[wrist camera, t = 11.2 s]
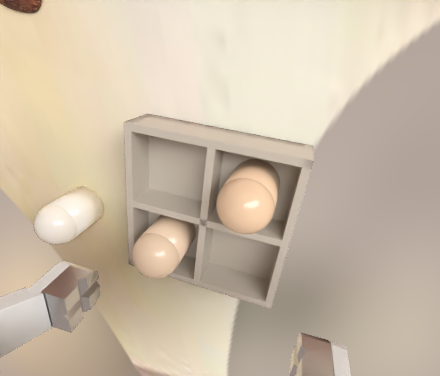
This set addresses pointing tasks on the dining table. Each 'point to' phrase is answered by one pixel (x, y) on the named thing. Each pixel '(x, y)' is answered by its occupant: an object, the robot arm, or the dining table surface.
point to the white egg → (68, 216)
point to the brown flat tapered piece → (22, 5)
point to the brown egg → (249, 197)
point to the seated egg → (163, 246)
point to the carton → (212, 200)
